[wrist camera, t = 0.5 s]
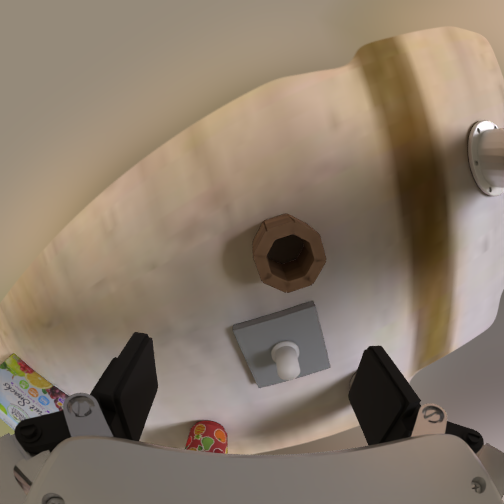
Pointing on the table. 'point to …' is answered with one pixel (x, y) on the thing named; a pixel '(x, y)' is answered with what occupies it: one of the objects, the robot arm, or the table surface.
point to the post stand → (283, 345)
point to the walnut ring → (290, 272)
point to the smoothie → (207, 438)
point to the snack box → (26, 393)
